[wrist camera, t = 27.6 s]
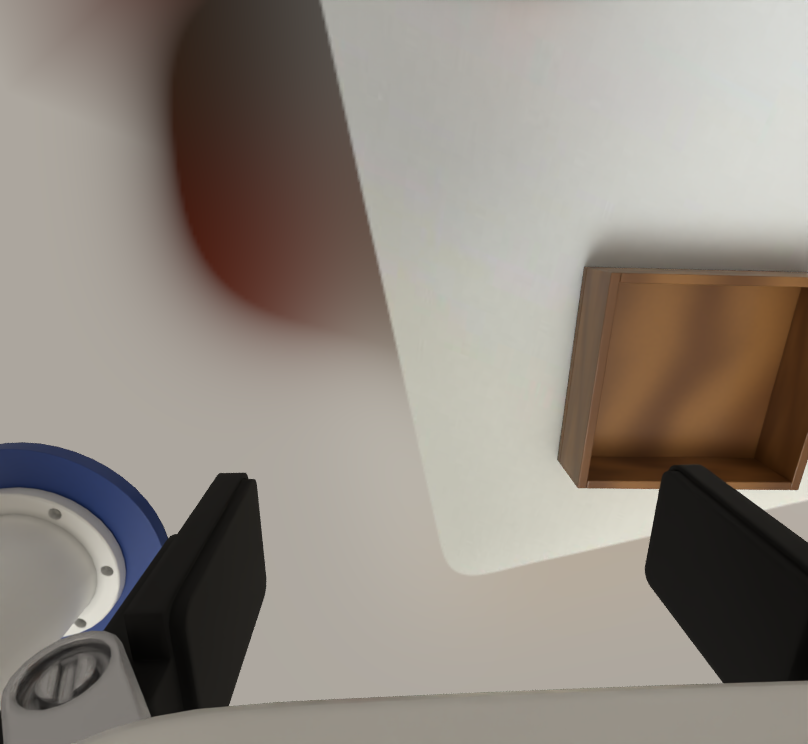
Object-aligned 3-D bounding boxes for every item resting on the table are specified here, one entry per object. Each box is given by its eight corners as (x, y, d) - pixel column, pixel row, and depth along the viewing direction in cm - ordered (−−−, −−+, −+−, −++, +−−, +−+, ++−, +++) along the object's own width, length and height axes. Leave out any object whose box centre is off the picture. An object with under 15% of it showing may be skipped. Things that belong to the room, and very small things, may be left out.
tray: (557, 459, 35) (577, 488, 31) (583, 266, 30) (611, 272, 27) (754, 461, 35) (798, 490, 31) (807, 271, 31) (866, 278, 27)
